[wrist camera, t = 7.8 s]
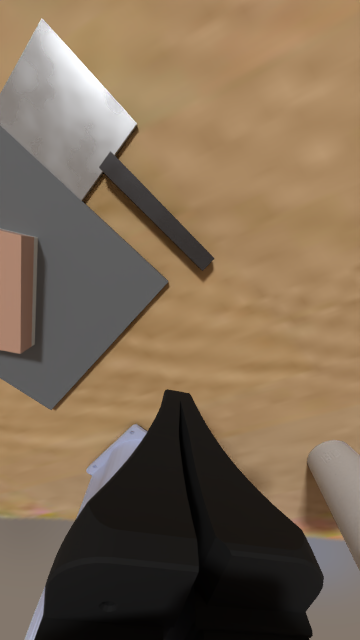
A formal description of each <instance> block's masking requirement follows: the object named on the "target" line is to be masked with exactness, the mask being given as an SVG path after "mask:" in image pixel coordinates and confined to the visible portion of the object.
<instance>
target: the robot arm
mask: <svg viewBox="0 0 360 640" xmlns="http://www.w3.org/2000/svg"><path fill="white" fill-rule="evenodd" d="M131 431H134V432H131ZM86 471H87V473H88V474H90V475H92V477H91V480H90V483H89V486H88V488H87V491H86V494H85V496H84V499H83V502H82V504H81V507H80V510H79V513H78V515H77V518H76V520H75V522H74V523H73V525H72V527H71V528H70V530H69V532H68V534H67V535H66V537H65V539H64V541H63V543H62V544H61V547H60V549H59V551H58V553H57V555H56V558H55V560H54V563H53V566H52V568H51V571H50V574H49V576H48V579H47V582H46V586H45V588H44V590H43V592H42V595H41V598H40V600H39V602H38V605H37V608H36V610H35V613H34V615H33V618H32V621H31V623H30V626H29V629H28V632H27V634H26V637H25V640H309V638H311V636H312V629H311V626H310V624H309V621H308V618H307V615H306V610H307V609H308V608H309V607H310V605H311V604H312V603H313V601H314V600H315V599H316V597H317V596H318V595H319V593H320V591H321V589H322V587H323V579H324V576H323V574H322V572H321V569H320V567H319V565H318V563H317V560H316V558H315V556H314V554H313V551H312V549H311V547H310V545H309V543H308V541H307V539H306V537H305V535H304V533H303V531H302V530H301V529H300V528H299V527H298V526H297V525H296V524H294V523H293V522H292V521H291V520H290V519H289V518H288V517H286V516H285V515H284V514H283V513H282V512H281V511H280V510H278V509H277V508H276V507H275V506H274V505H273V504H272V503H271V502H270V501H269V500H268V499H267V498H266V497H265V496H264V495H263V494H262V493H261V492H260V491H258V490H257V488H256V487H255V486H254V485H253V484H252V483H251V482H250V481H249V480H248V479H247V478H246V477H245V476H244V475H243V473H242V472H241V471H240V470H239V469H238V468H237V467H236V465H235V464H234V463H233V462H232V461H231V459H230V458H229V457H228V456H227V454H226V453H225V452H224V450H223V449H222V448H221V446H220V445H219V443H218V442H217V441H216V439H215V437H214V436H213V434H212V433H211V431H210V430H209V428H208V426H207V425H206V423H205V421H204V419H203V418H202V416H201V414H200V412H199V410H198V408H197V407H196V405H195V403H194V401H193V399H192V396H191V395H190V394H189V393H184V392H179V391H173V390H168V389H167V390H165V392H164V396H163V400H162V404H161V407H160V409H159V412H158V414H157V416H156V418H155V420H154V421H153V423H152V425H151V427H150V428H149V430H148V432H147V431H146V430H144V429H143V428H141V427H140V426H139V425H136V424H135V425H132V426H131V427H130V428H129V429H128V430H127V431H126V432H125V433H124V434H123V435H121V436H120V437H119V438H118V439H117V440H116V441H115V442H114V443H113V444H112V445H111V446H110V447H109V448H108V449H106V450H105V451H104V452H103V453H102V454H101V455H100V456H99V457H98V458H97V459H96V460H95V461H94V462H93V463H91V464H90V465H89V466H88V468H87V470H86Z"/></svg>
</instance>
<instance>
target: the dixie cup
mask: <svg viewBox="0 0 360 640" xmlns="http://www.w3.org/2000/svg"><path fill="white" fill-rule="evenodd" d="M307 463H308V466H309V468H310V470H311V472H312V474H313V476H314V478H315V481H316V483H317V485H318V487H319V489H320V491H321V493H322V495H323V497H324V499H325V501H326V503H327V505H328V507H329V509H330V511H331V513H332V515H333V517H334V519H335V521H336V523H337V525H338V528H339V530H340V532H341V534H342V536H343V538H344V540H345V542H346V544H347V546H348V548H349V550H350V552H351V554H352V556H353V558H354V560H355V562H356V564H357V566H358V568H359V570H360V455H359V454H358V453H357V452H356V451H355V450H353V449H352V448H351V447H350V446H349V445H348V444H347V443H345V442H343V441H339V440H331V441H326V442H323V443H321V444H319V445H317V446H316V447H315V448H314V449H313V450H312V451H311V452H310V454H309V455H308V459H307Z"/></svg>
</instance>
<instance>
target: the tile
mask: <svg viewBox="0 0 360 640" xmlns="http://www.w3.org/2000/svg"><path fill="white" fill-rule="evenodd" d="M37 252H38V237H34V236H30V235H26V234H21V233H17V232H13V231H9V230H5V229H0V350H3V351H8V352H13V353H19V354H21V353H22V352H24V351H26V350H27V349H29V348H30V347H32V346H33V345H35V321H36V286H37Z"/></svg>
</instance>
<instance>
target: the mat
mask: <svg viewBox="0 0 360 640" xmlns="http://www.w3.org/2000/svg"><path fill="white" fill-rule="evenodd" d="M0 229H5V230H9V231H13V232H17V233H21V234H26V235H30V236H34V237H38V252H37V286H36V321H35V345H33V346H32V347H30V348H29V349H27V350H26V351H24V352H22V353H21V354H19V353H13V352H8V351H3V350H0V378H1V379H2V380H4V381H6V382H7V383H9V384H10V385H12V386H14V387H15V388H17V389H18V390H20V391H21V392H23V393H25V394H26V395H28V396H29V397H31V398H33V399H34V400H36V401H37V402H39V403H40V404H42V405H44V406H45V407H47V408H48V409H50V410H52V409H53V407H54V406H55V405H56V404H57V403H58V402H59V401H60V400H61V399H62V398H63V396H64V395H65V394H66V393H67V392H68V391H69V390H70V389H71V388H72V387H73V386H74V384H75V383H76V382H77V381H78V380H79V379H80V378H81V377H82V376H83V375H84V374H85V372H86V371H87V370H88V369H89V368H90V367H91V366H92V365H93V364H94V363H95V361H96V360H97V359H98V358H99V357H100V356H101V355H102V354H103V353H104V352H105V351H106V349H107V348H108V347H109V346H110V345H111V344H112V343H113V342H114V341H115V340H116V338H117V337H118V336H119V335H120V334H121V333H122V332H123V331H124V330H125V329H126V328H127V326H128V325H129V324H130V323H131V322H132V321H133V320H134V319H135V318H136V317H137V315H138V314H139V313H140V312H141V311H142V310H143V309H144V308H145V307H146V306H147V305H148V303H149V302H150V301H151V300H152V299H153V298H154V297H155V296H156V295H157V294H158V292H159V291H160V290H161V289H162V288H163V287H164V286H165V285H166V284H167V283H168V280H167V279H166V278H165V277H163V276H162V275H161V274H160V273H159V272H158V271H157V270H156V269H155V268H154V267H153V266H152V265H151V264H149V263H148V262H147V261H146V260H145V259H144V258H143V257H142V256H141V255H140V254H139V253H138V252H137V251H136V250H134V249H133V248H132V247H131V246H130V245H129V244H128V243H127V242H126V241H125V240H124V239H123V238H122V237H120V236H119V235H118V234H117V233H116V232H115V231H114V230H113V229H112V228H111V227H110V226H109V225H108V224H106V223H105V222H104V221H103V220H102V219H101V218H100V217H99V216H98V215H97V214H96V213H95V212H94V211H92V210H91V209H90V208H89V207H88V206H87V205H86V204H85V203H84V202H83V201H81V200H80V199H79V198H78V197H77V196H76V195H75V194H74V193H72V192H71V191H70V190H69V189H68V188H67V187H66V186H65V185H64V184H63V183H62V182H61V181H60V180H58V179H57V178H56V177H55V176H54V175H53V174H52V173H51V172H50V171H49V170H48V169H47V168H46V167H44V166H43V165H42V164H41V163H40V162H39V161H38V160H37V159H36V158H35V157H34V156H33V155H32V154H30V153H29V152H28V151H27V150H26V149H25V148H24V147H23V146H22V145H21V144H20V143H19V142H18V141H16V140H15V139H14V138H13V137H12V136H11V135H10V134H9V133H8V132H7V131H6V130H5V129H4V128H2V127H1V126H0Z"/></svg>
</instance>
